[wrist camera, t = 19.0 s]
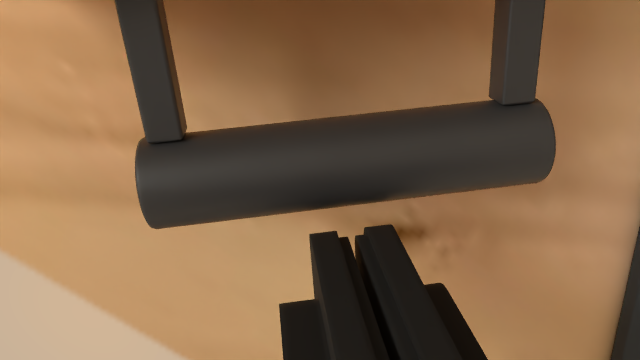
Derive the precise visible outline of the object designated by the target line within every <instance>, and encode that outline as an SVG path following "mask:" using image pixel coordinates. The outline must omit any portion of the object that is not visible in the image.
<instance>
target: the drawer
mask: <svg viewBox="0 0 640 360" xmlns="http://www.w3.org/2000/svg"><path fill="white" fill-rule="evenodd" d="M114 1H115V5H116V9H117V14H118V18H119V23H120V27H121V31H122V36H123V40H124V45H125V49H126V53H127V58H128V62H129V67H130V71H131V75H132V80H133V84H134V88H135V93H136V97H137V102H138V106H139V110H140V115H141V119H142V124H143V128H144V132H145V138H143V139H141V140H140V141H139V143H138V146H137V150H136V157H135V178H136V187H137V193H138V198H139V203H140V206H141V210H142V213H143V215H144V217H145V220H146V222H147V223H148V225H149V226H150V227H151V228H154V229H161V228H170V227H178V226H186V225H194V224H203V223H211V222H219V221H227V220H235V219H244V218H252V217H260V216H268V215H277V214H285V213H293V212H301V211H309V210H318V209H326V208H334V207H342V206H351V205H359V204H367V203H375V202H383V201H392V200H400V199H408V198H416V197H425V196H433V195H441V194H449V193H457V192H466V191H474V190H482V189H490V188H498V187H507V186H515V185H523V184H531V183H538V182H540V181H542V180H543V179H545V178H546V177H547V176H548V174H549V173H550V171H551V169H552V166H553V163H554V158H555V150H556V140H555V131H554V126H553V123H552V119H551V117H550V114H549V112H548V110H547V109H546V107H545V106H544V105H543V103H542V102H541V101H539V100H538V99H536V98H535V94H536V85H537V75H538V66H539V56H540V47H541V38H542V28H543V19H544V9H545V0H495V13H494V28H493V43H492V58H491V72H490V87H489V97H490V98H491V99H493V100H489V101H480V102H470V103H461V104H452V105H442V106H433V107H424V108H414V109H405V110H396V111H386V112H377V113H368V114H358V115H349V116H340V117H330V118H321V119H312V120H302V121H293V122H283V123H274V124H265V125H255V126H246V127H237V128H227V129H218V130H209V131H199V132H190V133H185V132H186V129H187V125H186V119H185V114H184V109H183V104H182V98H181V93H180V88H179V83H178V77H177V72H176V67H175V62H174V56H173V51H172V46H171V41H170V35H169V30H168V25H167V20H166V14H165V9H164V4H163V0H114Z"/></svg>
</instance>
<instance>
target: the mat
mask: <svg viewBox="0 0 640 360" xmlns="http://www.w3.org/2000/svg"><path fill="white" fill-rule="evenodd" d="M611 360H640V228H639V232H638V237H637V241H636V246H635V251H634V255H633V260H632V264H631V269H630V274H629V278H628V283H627V287H626V292H625V296H624V301H623V306H622V310H621V315H620V319H619V324H618V329H617V333H616V338H615V342H614V347H613V352H612V356H611Z"/></svg>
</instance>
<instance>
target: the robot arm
mask: <svg viewBox="0 0 640 360" xmlns="http://www.w3.org/2000/svg"><path fill="white" fill-rule="evenodd" d="M309 236H310V250H311V262H312V274H313V285H314V297H315V299H313V300H305V301H297V302H290V303H282V304H279V308H280V322H281V335H282V348H283V360H488V359H487V357H486V355H485V354H484V352H483V350H482V349H481V347H480V345H479V343H478V342H477V340H476V338H475V337H474V335H473V333H472V331H471V330H470V328H469V326H468V325H467V323H466V321H465V319H464V318H463V316H462V314H461V312H460V311H459V309H458V307H457V306H456V304H455V302H454V300H453V299H452V297H451V295H450V294H449V292H448V290H447V289H446V287H445V286H444V285H443V284H441V283H435V284H428V285H424V284H423V282H422V281H421V279H420V277H419V275H418V273H417V271H416V269H415V267H414V265H413V263H412V261H411V259H410V257H409V256H408V254H407V252H406V250H405V248H404V246H403V244H402V242H401V240H400V238H399V236H398V234H397V232H396V230H395V229H394V227H393V225H391V224H390V225H381V226H373V227H365V228H364V235H357V236H355V256H354V253H353V250H352V247H351V245H350V242H349V239H348V237H341V238H339V237H338V234H337V231H331V232H323V233H314V234H310V235H309ZM355 257H356V259H355Z"/></svg>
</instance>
